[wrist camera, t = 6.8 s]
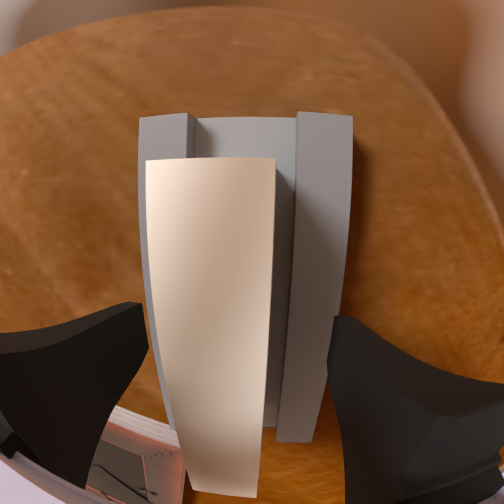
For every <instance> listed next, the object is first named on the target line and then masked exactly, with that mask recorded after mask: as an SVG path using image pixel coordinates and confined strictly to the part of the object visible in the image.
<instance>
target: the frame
mask: <svg viewBox="0 0 504 504" xmlns="http://www.w3.org/2000/svg"><path fill="white" fill-rule="evenodd" d="M275 201H276V158H244V157H222V158H183V159H163V160H148V161H146V221H147V241H148V256H149V269H150V280H151V290H152V299H153V308H154V316H155V323H156V330H157V337H158V344H159V350H160V356H161V362H162V368H163V373H164V379H165V384H166V389H167V394H168V398H169V403H170V408H171V412H172V416H173V421H174V425H175V429H176V433H177V437H178V441H179V445H180V448H181V452H182V455H183V459H184V463H185V466H186V469H187V473H188V476H189V479H190V482H191V485H192V488H193V490H197V491H202V492H209V493H215V494H222V495H231V496H240V497H252V498H256V495H257V485H258V475H259V465H260V454H261V443H262V431H263V419H264V407H265V394H266V379H267V364H268V349H269V332H270V315H271V296H272V276H273V254H274V229H275Z"/></svg>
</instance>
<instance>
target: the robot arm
mask: <svg viewBox="0 0 504 504" xmlns="http://www.w3.org/2000/svg"><path fill="white" fill-rule="evenodd" d="M148 349H149V345H148V339H147V333H146V327H145V321H144V314H143V307H142V303H135V302H125V303H121V304H118V305H114V306H111V307H109V308H106V309H103V310H100V311H98V312H95V313H92V314H90V315H87V316H84V317H81V318H78V319H75V320H72V321H69V322H66V323H62V324H59V325H55V326H51V327H47V328H42V329H37V330H29V331H22V332H12V333H0V504H116V503H113V502H111V501H108V500H106V499H103V498H101V497H99V496H96V495H94V494H92V493H90V492H87V491H85V487H86V483H87V478H88V474H89V470H90V467H91V463H92V460H93V457H94V454H95V451H96V448H97V445H98V443H99V440H100V438H101V435H102V433H103V430H104V428H105V426H106V423H107V421H108V419H109V417H110V415H111V413H112V411H113V409H114V407H115V406H116V404H117V402H118V401H119V399H120V398H121V396H122V395H123V393H124V392H125V390H126V389H127V387H128V386H129V384H130V383H131V381H132V379H133V378H134V376H135V375H136V373H137V372H138V370H139V368H140V367H141V365H142V362H143V360H144V358H145V356H146V353H147V351H148ZM326 362H327V372H328V381H329V386H330V391H331V395H332V399H333V403H334V407H335V411H336V415H337V419H338V423H339V427H340V431H341V437H342V445H343V455H344V470H345V504H504V470H503V471H502V472H500V470H499V468H498V466H497V465H499V464H500V463H501V462H502V458H501V456H500V454H499V450H500V449H501V448H502V447H503V445H504V384H501V383H493V382H485V381H479V380H475V379H471V378H466V377H462V376H459V375H455V374H452V373H449V372H446V371H444V370H441V369H438V368H435V367H433V366H431V365H428V364H426V363H424V362H422V361H420V360H418V359H416V358H414V357H412V356H410V355H408V354H406V353H405V352H403V351H401V350H400V349H398V348H396V347H395V346H393V345H392V344H390V343H389V342H387V341H386V340H384V339H383V338H381V337H380V336H379V335H377V334H376V333H374V332H373V331H372V330H370V329H369V328H368V327H366V326H365V325H363V324H362V323H361V322H359V321H358V320H356V319H355V318H353V317H352V316H334V321H333V327H332V333H331V339H330V345H329V350H328V356H327V361H326Z"/></svg>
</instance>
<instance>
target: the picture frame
mask: <svg viewBox="0 0 504 504" xmlns="http://www.w3.org/2000/svg"><path fill="white" fill-rule="evenodd" d="M185 474H186V466H185V463H184V459H183V455H182V452H181V448H180V445H179V441H178V437H177V433H176V431H175V430H171V428H170V425H167V424H164V423H161V422H158V421H155V420H153V419H150V418H147V417H144V416H142V415H139V414H136V413H134V412H131V411H129V410H126V409H124V408H121V407H119V406H115V407H114V409H113V411H112V413H111V415H110V417H109V419H108V421H107V423H106V426H105V428H104V430H103V433H102V435H101V438H100V440H99V443H98V445H97V448H96V451H95V454H94V457H93V460H92V463H91V467H90V470H89V474H88V478H87V483H86V487H85V491H87V492H90V493H92V494H94V495H96V496H99V497H101V498H103V499H106V500H108V501H111V502H113V503H116V504H182V498H183V490H184V482H185Z"/></svg>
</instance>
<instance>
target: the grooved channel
mask: <svg viewBox="0 0 504 504" xmlns="http://www.w3.org/2000/svg"><path fill="white" fill-rule="evenodd" d="M352 156H353V116H345V115H336V114H326V113H314V112H299V111H298V113H297V116H296V118H281V117H221V118H200V119H196V118H195V117H193V116H192V115H190V114H189V113H179V114H169V115H160V116H152V117H144V118H140V121H139V145H138V203H139V227H140V244H141V257H142V268H143V279H144V288H145V296H146V304H147V312H148V319H149V326H150V332H151V339H152V345H153V350H154V356H155V361H156V367H157V372H158V377H159V381H160V386H161V391H162V395H163V400H164V404H165V408H166V412H167V416H168V420H169V424H170V428H171V430H175V431H176V429H175V425H174V421H173V416H172V412H171V408H170V403H169V398H168V394H167V389H166V384H165V379H164V373H163V368H162V362H161V356H160V350H159V344H158V337H157V330H156V323H155V316H154V308H153V299H152V290H151V280H150V269H149V256H148V241H147V221H146V161H148V160H163V159H183V158H222V157H244V158H276V201H275V229H274V254H273V276H272V296H271V315H270V332H269V349H268V364H267V379H266V394H265V407H264V419H263V427H276V440H275V442H311V441H312V437H313V433H314V430H315V426H316V422H317V418H318V414H319V410H320V406H321V402H322V398H323V393H324V389H325V384H326V380H327V375H328V372H327V362H326V361H327V356H328V350H329V345H330V339H331V333H332V327H333V321H334V316H338V315H339V308H340V302H341V295H342V287H343V279H344V271H345V262H346V253H347V243H348V232H349V219H350V205H351V186H352Z"/></svg>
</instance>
